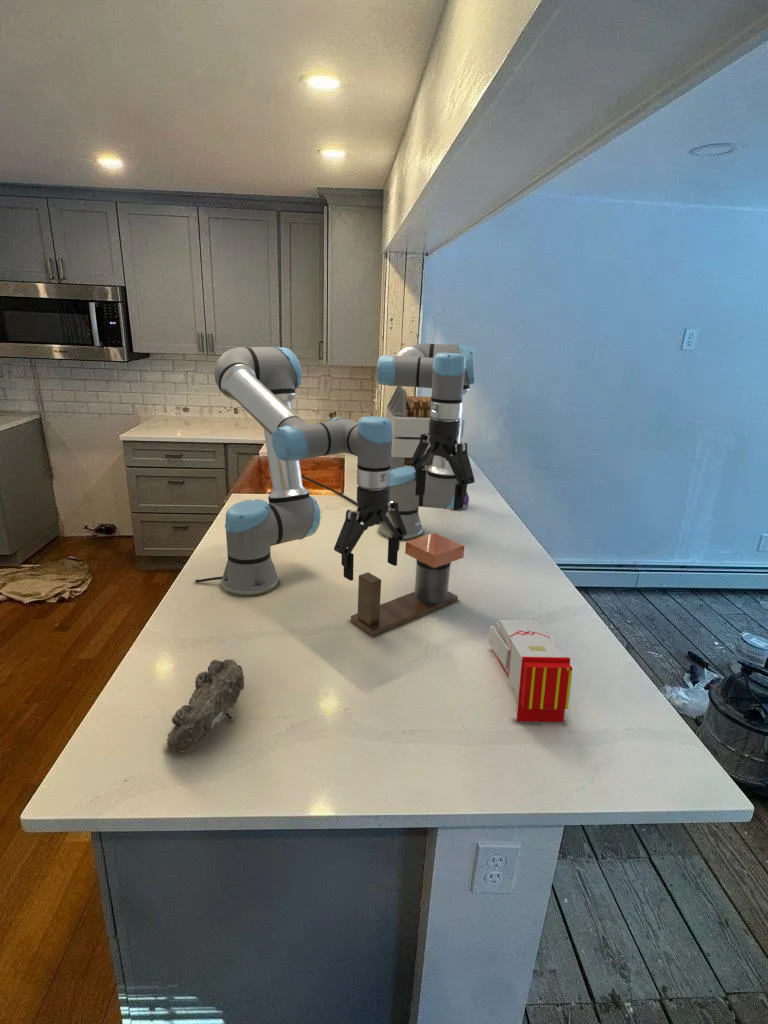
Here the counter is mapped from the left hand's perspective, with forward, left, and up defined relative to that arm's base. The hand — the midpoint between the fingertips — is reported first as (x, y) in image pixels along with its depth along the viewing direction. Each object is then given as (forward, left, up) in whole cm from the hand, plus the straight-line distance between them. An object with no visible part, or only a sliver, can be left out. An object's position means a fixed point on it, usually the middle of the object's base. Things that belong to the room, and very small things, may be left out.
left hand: (370, 571), depth 136 cm
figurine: (+11, +99, -15) cm, 101 cm away
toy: (+37, -11, -15) cm, 42 cm away
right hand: (+13, +18, +13) cm, 26 cm away
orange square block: (+13, +18, -3) cm, 22 cm away
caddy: (+7, +11, -15) cm, 20 cm away
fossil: (-20, -40, -15) cm, 48 cm away
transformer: (-12, +143, -15) cm, 144 cm away
